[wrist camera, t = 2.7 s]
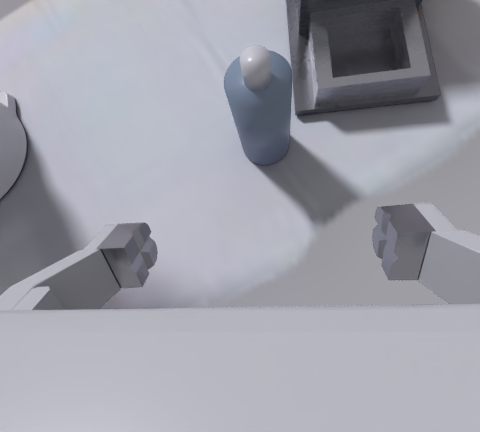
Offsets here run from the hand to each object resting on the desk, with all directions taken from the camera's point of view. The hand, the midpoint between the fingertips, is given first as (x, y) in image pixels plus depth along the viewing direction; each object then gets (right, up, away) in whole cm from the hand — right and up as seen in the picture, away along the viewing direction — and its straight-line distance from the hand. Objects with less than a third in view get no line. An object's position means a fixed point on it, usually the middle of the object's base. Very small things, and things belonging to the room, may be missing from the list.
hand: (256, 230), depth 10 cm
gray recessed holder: (+13, +21, +21) cm, 32 cm away
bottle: (+2, +8, +20) cm, 22 cm away
